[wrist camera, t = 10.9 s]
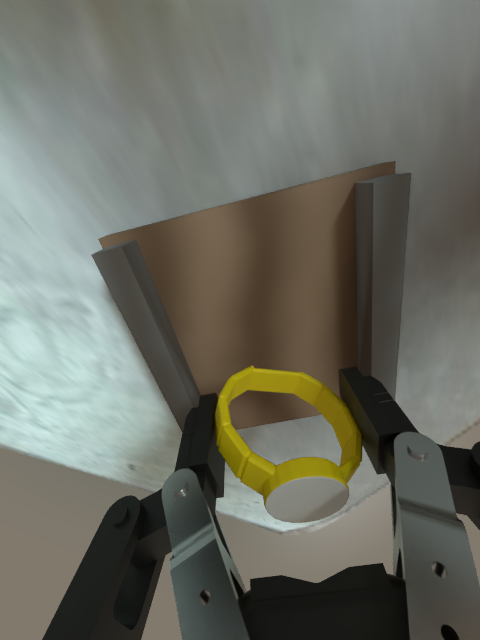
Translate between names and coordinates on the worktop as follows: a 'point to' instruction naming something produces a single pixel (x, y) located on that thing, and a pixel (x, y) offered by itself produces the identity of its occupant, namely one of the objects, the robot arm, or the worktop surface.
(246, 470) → the watch
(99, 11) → the worktop surface
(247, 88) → the worktop surface
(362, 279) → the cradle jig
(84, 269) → the worktop surface
